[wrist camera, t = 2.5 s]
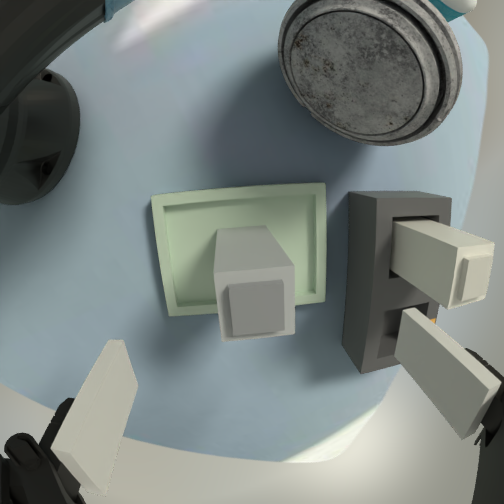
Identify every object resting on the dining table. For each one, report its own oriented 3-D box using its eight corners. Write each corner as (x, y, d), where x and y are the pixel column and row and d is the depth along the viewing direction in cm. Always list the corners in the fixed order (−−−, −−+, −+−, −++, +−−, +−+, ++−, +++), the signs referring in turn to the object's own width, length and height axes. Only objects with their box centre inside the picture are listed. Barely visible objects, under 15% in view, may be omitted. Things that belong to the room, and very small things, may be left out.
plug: (221, 274, 29) (221, 347, 17) (217, 228, 28) (213, 276, 16) (267, 270, 29) (297, 339, 17) (265, 225, 28) (297, 268, 16)
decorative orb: (237, 69, 24) (253, -18, 10) (331, 0, 22) (393, -74, 8) (344, 175, 28) (442, 188, 14) (420, 95, 26) (519, 75, 12)
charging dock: (341, 344, 34) (395, 430, 20) (348, 191, 28) (443, 216, 14) (403, 331, 34) (467, 398, 20) (417, 191, 29) (517, 214, 15)
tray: (171, 309, 30) (169, 316, 29) (154, 194, 27) (150, 196, 25) (320, 295, 31) (325, 301, 30) (320, 182, 28) (325, 183, 27)
